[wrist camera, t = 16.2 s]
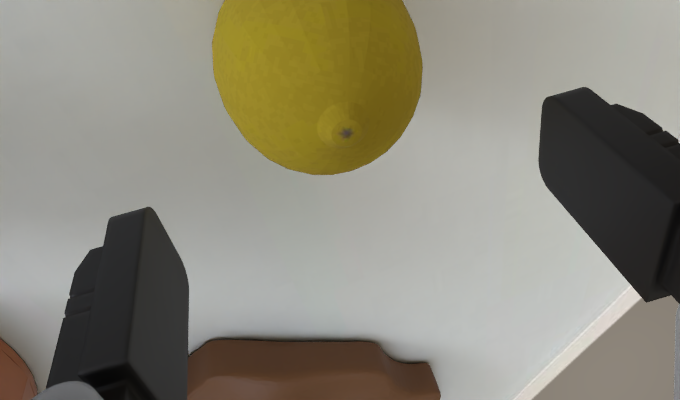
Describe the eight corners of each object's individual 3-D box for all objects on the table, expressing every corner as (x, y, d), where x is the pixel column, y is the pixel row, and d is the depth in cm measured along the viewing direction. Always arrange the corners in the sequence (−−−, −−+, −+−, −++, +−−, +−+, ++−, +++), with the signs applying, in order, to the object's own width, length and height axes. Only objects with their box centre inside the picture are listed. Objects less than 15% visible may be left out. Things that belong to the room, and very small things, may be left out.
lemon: (375, -89, 16) (483, -8, 10) (374, 77, 20) (454, 212, 14) (192, -74, 16) (192, 23, 10) (224, 96, 19) (238, 248, 13)
